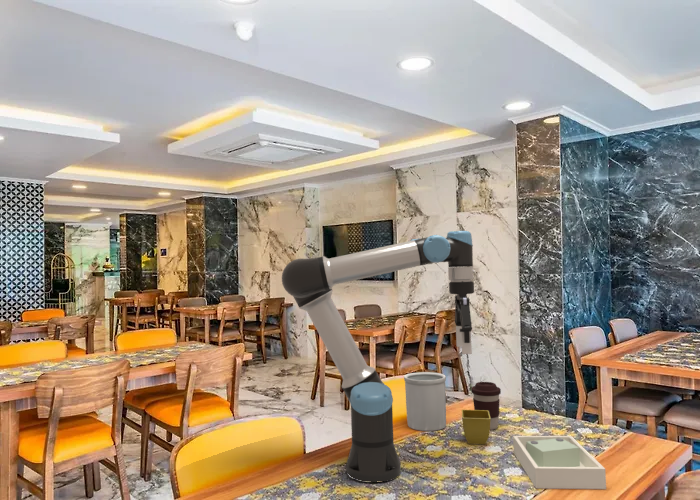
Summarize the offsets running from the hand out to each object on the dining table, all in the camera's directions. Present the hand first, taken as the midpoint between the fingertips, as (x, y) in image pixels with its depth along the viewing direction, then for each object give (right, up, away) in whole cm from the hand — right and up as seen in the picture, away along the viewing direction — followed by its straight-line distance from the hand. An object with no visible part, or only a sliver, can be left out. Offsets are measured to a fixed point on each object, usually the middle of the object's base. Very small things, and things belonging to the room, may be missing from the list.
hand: (463, 350), depth 152 cm
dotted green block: (+22, -29, -14) cm, 39 cm away
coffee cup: (+13, -31, +21) cm, 40 cm away
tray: (+22, -30, -16) cm, 40 cm away
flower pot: (+6, -31, +6) cm, 32 cm away
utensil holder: (-8, -32, +25) cm, 41 cm away
